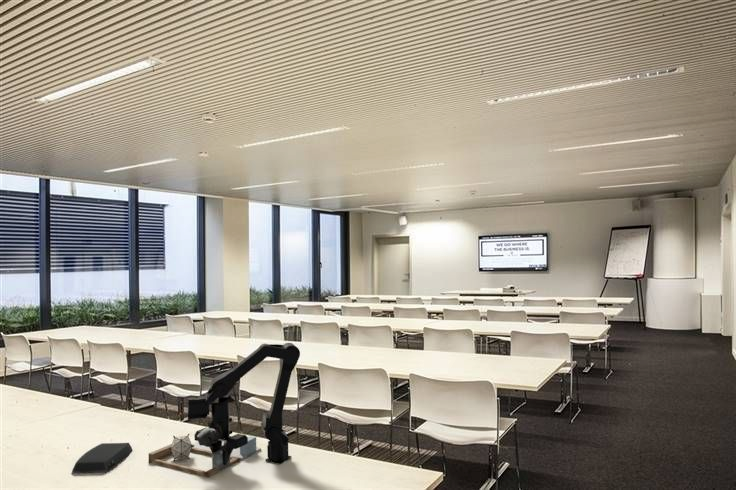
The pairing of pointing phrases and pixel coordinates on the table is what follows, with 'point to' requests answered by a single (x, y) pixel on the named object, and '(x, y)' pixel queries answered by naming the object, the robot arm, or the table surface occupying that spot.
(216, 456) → the wooden tray frame
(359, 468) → the table surface
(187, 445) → the game die
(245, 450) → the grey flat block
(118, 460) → the external hard drive
